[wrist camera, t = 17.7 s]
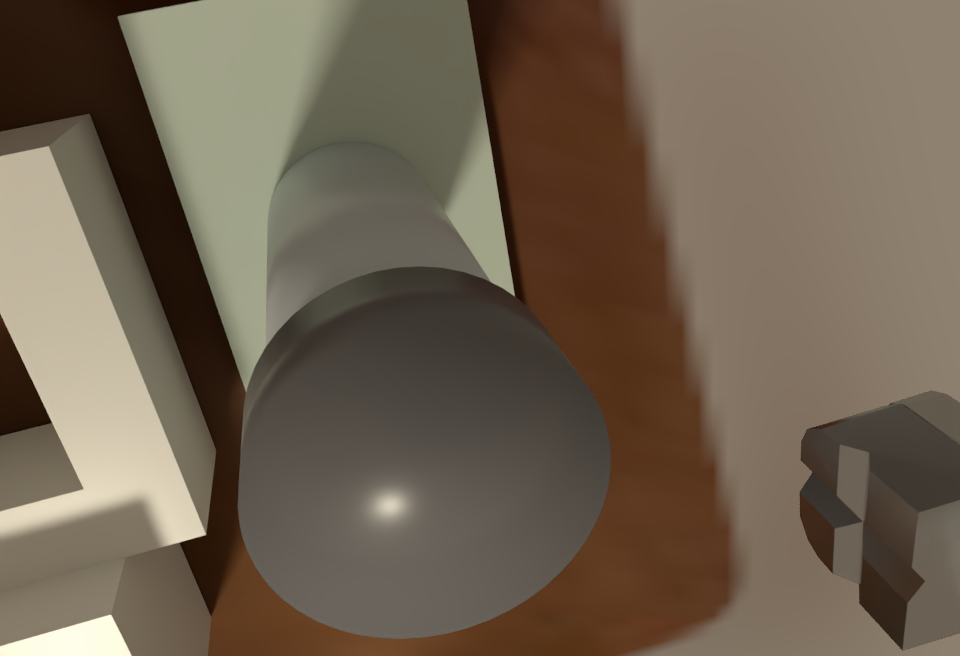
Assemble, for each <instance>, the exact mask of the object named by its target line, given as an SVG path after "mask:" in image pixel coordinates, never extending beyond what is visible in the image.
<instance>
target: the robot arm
mask: <svg viewBox="0 0 960 656" xmlns="http://www.w3.org/2000/svg"><path fill="white" fill-rule="evenodd" d="M801 461H802V462H803V463H804V464H805V465H806V466H807V467H808V468H809V469H810V470H811V471H812V472H813V473H812V474H811V476H810V477H809V479H808V480H807V482H806V483H805V485H804V487H803V488H802V489H801V491H800V517H801V520H802V523H803V526H804V529H805V532H806V535H807V538H808V541H809V542H810V544H811V546H812V547H813V549H814V551H815V552H816V554H817V556H818V557H819V558H820V560H821V561H822V562H823V563H824V564H825V565H826V566H827V567H828V569H829V570H830V571H831V572H832V573H833V574H835V575H837V576H840V577H843V578H845V579H848V580H850V581H853V582H855V583H857V584H859V603H860V605H861V606H862V607H863V608H864V609H865V610H866V611H867V612H868V613H869V614H870V616H871V617H872V618H873V619H874V620H875V621H876V622H877V623H878V624H879V625H880V627H882V629H883V630H884V631H885V632H886V633H887V634H888V635H889V636H890V638H891V639H892V640H893V641H894V642H895V643H896V644H897V645H898V646H899V647H900V649H902V651H903V650H906V649H910V648H913V647H916V646H919V645H923V644H926V643H929V642H933V641H936V640H939V639H943V638H946V637H949V636H952V635H956V634H959V633H960V403H959V402H958V401H956V400H955V399H953V398H952V397H950V396H949V395H947V394H944V393H940V392H936V391H929V392H925V393H922V394H919V395H916V396H912V397H909V398H907V399H903V400H900V401H897V402H893V403H891V404H889V405H888V406H883V407H880V408H876V409H873V410H870V411H866V412H863V413H860V414H856V415H853V416H850V417H847V418H843V419H839V420H836V421H833V422H829V423H827V424H823V425H820V426H816V427H813V428H809V429H807V431H806V433H805V435H804V437H803V439H802V442H801Z"/></svg>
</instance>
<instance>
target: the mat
mask: <svg viewBox="0 0 960 656" xmlns="http://www.w3.org/2000/svg"><path fill="white" fill-rule="evenodd" d="M118 20H119V23H120V26H121V29H122V32H123V35H124V38H125V41H126V44H127V46H128V49H129V52H130V55H131V58H132V61H133V64H134V67H135V70H136V73H137V76H138V79H139V81H140V84H141V87H142V90H143V93H144V96H145V99H146V102H147V105H148V108H149V111H150V114H151V116H152V119H153V122H154V125H155V128H156V131H157V134H158V137H159V140H160V143H161V146H162V149H163V151H164V154H165V157H166V160H167V163H168V166H169V169H170V172H171V175H172V178H173V181H174V184H175V186H176V189H177V192H178V195H179V198H180V201H181V204H182V207H183V210H184V213H185V216H186V219H187V221H188V224H189V227H190V230H191V233H192V236H193V239H194V242H195V245H196V248H197V251H198V254H199V256H200V259H201V262H202V265H203V268H204V271H205V274H206V277H207V280H208V283H209V286H210V289H211V291H212V294H213V297H214V300H215V303H216V306H217V309H218V312H219V315H220V318H221V321H222V323H223V326H224V329H225V332H226V335H227V338H228V341H229V344H230V347H231V350H232V353H233V356H234V358H235V361H236V364H237V367H238V370H239V373H240V376H241V379H242V382H243V385H244V388H245V391H246V392H247V387H248V384H249V381H250V379H251V376H252V373H253V370H254V368H255V366H256V364H257V362H258V360H259V358H260V356H261V354H262V353H263V351H264V349H265V339H266V284H267V229H268V211H269V206H270V202H271V199H272V196H273V193H274V191H275V189H276V187H277V185H278V183H279V181H280V180H281V179H282V177H283V176H284V174H285V173H286V172H287V171H288V170H289V169H290V168H291V166H292V165H293V164H295V163H296V162H297V161H298V160H300V159H301V158H302V157H304V156H305V155H307V154H309V153H310V152H312V151H314V150H316V149H319V148H321V147H324V146H327V145H331V144H335V143H342V142H363V143H369V144H373V145H378V146H380V147H383V148H386V149H388V150H390V151H392V152H394V153H396V154H397V155H399V156H401V157H402V158H403V159H405V160H406V161H407V162H408V163H409V164H410V165H412V166H413V167H414V168H415V169H416V171H417V172H418V173H419V174H420V176H421V177H422V178H423V180H424V181H425V183H426V184H427V186H428V187H429V189H430V190H431V192H432V193H433V195H434V196H435V198H436V199H437V201H438V202H439V204H440V206H441V207H442V209H443V210H444V212H445V213H446V215H447V216H448V218H449V219H450V221H451V222H452V224H453V225H454V227H455V228H456V230H457V231H458V233H459V234H460V236H461V237H462V239H463V240H464V242H465V243H466V245H467V246H468V248H469V249H470V251H471V252H472V254H473V255H474V257H475V258H476V260H477V261H478V263H479V264H480V266H481V267H482V269H483V270H484V272H485V273H486V275H487V276H488V278H489V280H490V281H491V283H493V284H495V285H497V286H499V287H501V288H503V289H505V290H506V291H508V292H509V293H510V294H512V295H513V296H515V294H514V288H513V282H512V275H511V269H510V263H509V257H508V251H507V244H506V238H505V232H504V226H503V220H502V214H501V207H500V201H499V195H498V189H497V183H496V176H495V170H494V164H493V158H492V152H491V146H490V139H489V133H488V127H487V121H486V115H485V108H484V102H483V96H482V90H481V84H480V77H479V71H478V65H477V59H476V53H475V47H474V40H473V34H472V28H471V22H470V16H469V9H468V3H467V0H198V1H193V2H188V3H182V4H177V5H172V6H167V7H161V8H156V9H151V10H146V11H140V12H135V13H130V14H124V15H121V16H118Z"/></svg>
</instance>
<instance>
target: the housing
mask: <svg viewBox="0 0 960 656" xmlns="http://www.w3.org/2000/svg"><path fill="white" fill-rule="evenodd" d="M0 314H1V316H2V318H3V320H4V322H5V325H6V327H7V329H8V331H9V333H10V335H11V337H12V339H13V341H14V343H15V346H16V348H17V350H18V352H19V354H20V356H21V358H22V360H23V362H24V364H25V367H26V369H27V371H28V373H29V375H30V377H31V379H32V381H33V383H34V385H35V388H36V390H37V392H38V394H39V396H40V398H41V400H42V402H43V404H44V407H45V409H46V411H47V413H48V415H49V417H50V419H51V421H52V423H50V424H46V425H42V426H38V427H34V428H30V429H26V430H22V431H18V432H14V433H10V434H7V435H3V436H0V656H208V646H209V636H210V626H211V616H210V613H209V611H208V608H207V606H206V604H205V601H204V599H203V597H202V594H201V592H200V590H199V587H198V585H197V583H196V580H195V578H194V576H193V573H192V571H191V569H190V566H189V564H188V562H187V559H186V557H185V555H184V552H183V550H182V547H181V545H180V543H179V542H182V541H186V540H190V539H193V538H197V537H200V536H204V535H206V532H207V524H208V515H209V507H210V499H211V491H212V482H213V474H214V466H215V457H216V448H215V446H214V443H213V440H212V438H211V435H210V432H209V430H208V427H207V424H206V422H205V419H204V416H203V414H202V411H201V408H200V406H199V403H198V400H197V398H196V395H195V392H194V390H193V387H192V385H191V382H190V379H189V377H188V374H187V371H186V369H185V366H184V363H183V361H182V358H181V355H180V353H179V350H178V347H177V345H176V342H175V339H174V337H173V334H172V331H171V329H170V326H169V323H168V321H167V318H166V315H165V313H164V310H163V307H162V305H161V302H160V299H159V297H158V294H157V291H156V289H155V286H154V283H153V281H152V278H151V275H150V273H149V270H148V267H147V265H146V262H145V259H144V257H143V254H142V251H141V249H140V246H139V244H138V241H137V238H136V236H135V233H134V230H133V228H132V225H131V222H130V220H129V217H128V214H127V212H126V209H125V206H124V204H123V201H122V198H121V196H120V193H119V190H118V188H117V185H116V182H115V180H114V177H113V174H112V172H111V169H110V166H109V164H108V161H107V158H106V156H105V153H104V150H103V148H102V145H101V142H100V140H99V137H98V134H97V132H96V129H95V126H94V124H93V121H92V118H91V116H90V114H85V115H80V116H75V117H70V118H65V119H60V120H56V121H51V122H46V123H41V124H36V125H31V126H26V127H21V128H16V129H12V130H7V131H2V132H0Z"/></svg>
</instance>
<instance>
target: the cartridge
mask: <svg viewBox="0 0 960 656" xmlns="http://www.w3.org/2000/svg"><path fill="white" fill-rule="evenodd" d="M610 468H611V454H610V442H609V436H608V431H607V426H606V423H605V420H604V418H603V415H602V412H601V409H600V407H599V405H598V403H597V402H596V400H595V398H594V396H593V394H592V393H591V391H590V389H589V388H588V386H587V385H586V384H585V382H584V381H583V380H582V378H581V377H580V375H579V374H578V373H577V371H576V370H575V368H574V367H573V366H572V364H571V363H570V362H569V360H568V359H567V357H566V356H565V355H564V353H563V352H562V351H561V349H560V348H559V346H558V345H557V344H556V342H555V341H554V340H553V338H552V337H551V335H550V334H549V333H548V331H547V330H546V328H545V327H544V326H543V325H542V323H541V322H540V321H539V320H538V318H537V317H536V316H535V314H534V313H533V312H532V311H531V310H530V309H529V308H528V307H527V306H525V305H524V304H523V303H522V302H521V301H520V300H519V299H518V298H516V297H515V296H513V295H512V294H510V293H509V292H508V291H506V290H505V289H503V288H501V287H499V286H497V285H495V284H493V283H491V281H490V280H489V278H488V276H487V275H486V273H485V272H484V270H483V269H482V267H481V266H480V264H479V263H478V261H477V260H476V258H475V257H474V255H473V254H472V252H471V251H470V249H469V248H468V246H467V245H466V243H465V242H464V240H463V239H462V237H461V236H460V234H459V233H458V231H457V230H456V228H455V227H454V225H453V224H452V222H451V221H450V219H449V218H448V216H447V215H446V213H445V212H444V210H443V209H442V207H441V206H440V204H439V202H438V201H437V199H436V198H435V196H434V195H433V193H432V192H431V190H430V189H429V187H428V186H427V184H426V183H425V181H424V180H423V178H422V177H421V176H420V174H419V173H418V172H417V171H416V169H415V168H414V167H413V166H412V165H410V164H409V163H408V162H407V161H406V160H405V159H403V158H402V157H401V156H399V155H397V154H396V153H394V152H392V151H390V150H388V149H386V148H383V147H380V146H378V145H373V144H369V143H363V142H342V143H335V144H331V145H327V146H324V147H321V148H319V149H316V150H314V151H312V152H310V153H309V154H307V155H305V156H304V157H302V158H301V159H300V160H298V161H297V162H296V163H295V164H293V165H292V166H291V168H290V169H289V170H288V171H287V172H286V173H285V174H284V176H283V177H282V179H281V180H280V181H279V183H278V185H277V187H276V189H275V191H274V193H273V196H272V199H271V202H270V206H269V211H268V229H267V284H266V339H265V349H264V351H263V353H262V354H261V356H260V358H259V360H258V362H257V364H256V366H255V368H254V370H253V373H252V376H251V379H250V381H249V384H248V387H247V392H246V397H245V402H244V410H243V425H242V441H241V457H240V473H239V489H238V514H239V522H240V529H241V533H242V536H243V539H244V543H245V546H246V549H247V551H248V553H249V555H250V557H251V559H252V561H253V563H254V565H255V567H256V569H257V570H258V571H259V573H260V574H261V576H262V577H263V578H264V580H265V581H266V583H267V584H268V585H269V586H270V587H271V588H272V589H273V590H274V591H275V592H276V593H277V594H278V595H279V596H280V597H281V598H282V599H283V600H285V601H286V602H287V603H289V604H290V605H291V606H292V607H294V608H295V609H296V610H298V611H300V612H301V613H303V614H305V615H307V616H308V617H310V618H312V619H314V620H315V621H318V622H320V623H323V624H325V625H328V626H330V627H333V628H335V629H338V630H342V631H346V632H349V633H353V634H357V635H363V636H370V637H376V638H395V639H404V638H422V637H429V636H435V635H441V634H446V633H450V632H454V631H458V630H462V629H466V628H469V627H472V626H474V625H477V624H480V623H483V622H485V621H488V620H490V619H492V618H494V617H496V616H499V615H501V614H503V613H505V612H507V611H509V610H510V609H512V608H514V607H515V606H517V605H519V604H521V603H522V602H524V601H526V600H527V599H528V598H530V597H531V596H533V595H534V594H535V593H537V592H538V591H539V590H541V589H542V588H543V587H545V586H546V585H547V584H548V583H549V582H550V581H551V580H552V579H553V578H555V577H556V576H557V575H558V574H559V573H560V572H561V571H562V570H563V569H564V568H565V566H566V565H567V564H568V563H569V562H570V561H571V560H572V559H573V558H574V556H575V555H576V554H577V552H578V551H579V549H580V548H581V547H582V545H583V544H584V542H585V541H586V540H587V538H588V536H589V534H590V532H591V531H592V529H593V527H594V525H595V523H596V521H597V519H598V516H599V514H600V511H601V509H602V506H603V504H604V500H605V496H606V493H607V489H608V485H609V477H610Z"/></svg>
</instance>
